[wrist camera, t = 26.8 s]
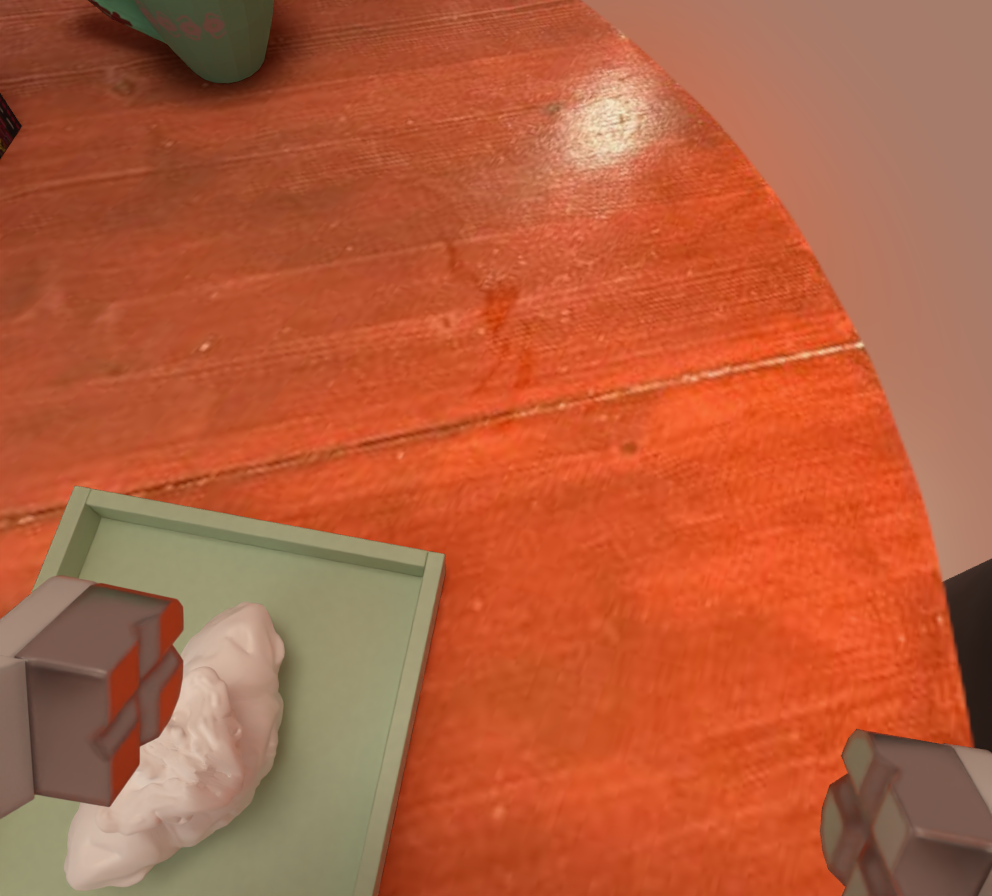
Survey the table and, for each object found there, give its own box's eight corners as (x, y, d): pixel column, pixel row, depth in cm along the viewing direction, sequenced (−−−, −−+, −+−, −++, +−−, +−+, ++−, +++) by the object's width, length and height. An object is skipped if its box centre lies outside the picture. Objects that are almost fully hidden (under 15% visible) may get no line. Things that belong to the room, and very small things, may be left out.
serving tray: (446, 568, 41) (445, 553, 38) (320, 1170, 32) (308, 1199, 29) (97, 503, 42) (74, 484, 39) (-127, 1074, 32) (-174, 1095, 30)
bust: (146, 883, 37) (223, 1019, 27) (-19, 812, 33) (6, 940, 24) (300, 639, 41) (413, 684, 32) (168, 554, 38) (251, 578, 28)
